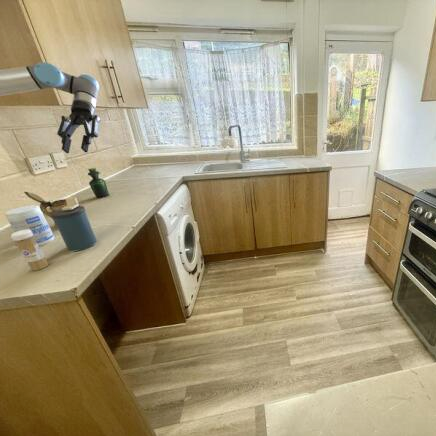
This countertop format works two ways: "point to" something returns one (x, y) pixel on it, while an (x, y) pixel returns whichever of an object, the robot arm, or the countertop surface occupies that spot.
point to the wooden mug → (47, 204)
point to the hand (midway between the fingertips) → (74, 150)
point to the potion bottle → (97, 184)
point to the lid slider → (70, 204)
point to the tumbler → (74, 228)
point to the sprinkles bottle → (30, 249)
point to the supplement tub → (31, 223)
